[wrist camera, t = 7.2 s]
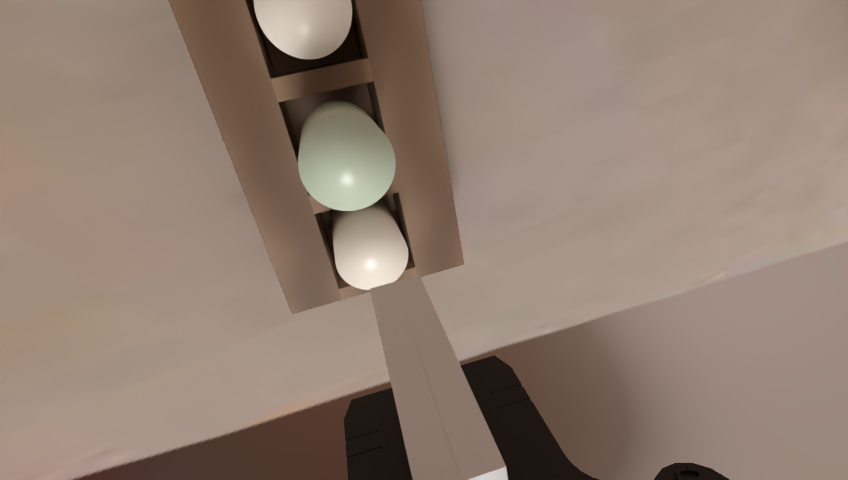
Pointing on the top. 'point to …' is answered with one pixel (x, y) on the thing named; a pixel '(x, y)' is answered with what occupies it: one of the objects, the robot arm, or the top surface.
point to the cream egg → (368, 246)
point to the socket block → (283, 119)
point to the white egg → (305, 25)
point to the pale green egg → (344, 157)
